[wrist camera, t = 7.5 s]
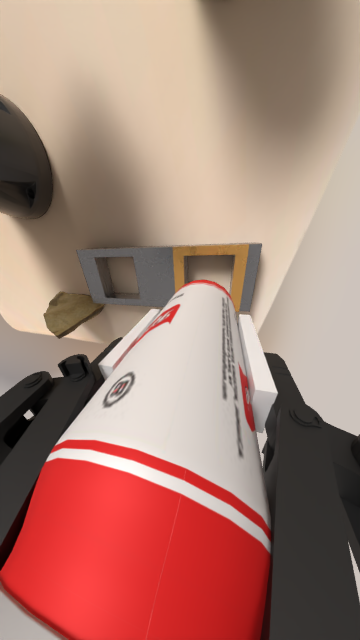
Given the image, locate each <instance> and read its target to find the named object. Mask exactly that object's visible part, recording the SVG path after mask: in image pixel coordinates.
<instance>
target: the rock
mask: <svg viewBox="0 0 360 640" xmlns="http://www.w3.org/2000/svg"><path fill="white" fill-rule="evenodd" d="M103 307H104V304H101V303H93V300H92V297H91V296H87V295H83V294H82V295H81V294H68V293H65V292H59V293H58V294H57V295H56V296H55V298H54V299H52V300H51V301H50V303H49V307H48V309H47V311H46V313H44V318H45V321H46V325H47V328H48V329H49V330H50V331H51V332H52V333H54V334H55V335H56V337H58V338H59V339H60V338H62V337H63V336H66V335H67V334H69V333H71V332H72V331H74V330H75V329H76V328H77V327H78V326H80V325H81V324H82V323H84V322H86V321H88V320H90V319H92V318H93V317H95V316H96V315H98V314H99V313H100V312H101V311H102V309H103Z"/></svg>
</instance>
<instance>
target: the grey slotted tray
mask: <svg viewBox="0 0 360 640" xmlns="http://www.w3.org/2000/svg"><path fill="white" fill-rule="evenodd" d="M261 248H262V244H261V243H234V244H206V245H178V246H150V247H122V248H94V249H81V250H76V251H77V254H78V257H79V260H80V263H81V266H82V269H83V272H84V275H85V278H86V282H87V285H88V288H89V291H90V294H91V297H92V300H93V303H101V304H120V305H138V306H157V307H165V306H166V304H167V303H168V302H169V301H170V299H171V298H172V297H173V296H174V294H175V293H176V292H177V291H178V290H179V289H180V288H181V287H182V286H183V285H185V284H187V283H188V261H187V256H193V255H234V256H233V265H232V274H231V283H230V292H229V294H230V295H231V298H232V301H233V303H234V306H235V311H236V312H239V311H250V306H251V301H252V296H253V290H254V285H255V280H256V274H257V269H258V264H259V258H260V253H261ZM106 257H133V259H134V265H135V270H136V276H137V282H138V288H139V293H140V294H127V293H114V289H113V285H112V281H111V277H110V273H109V269H108V265H107V261H106Z"/></svg>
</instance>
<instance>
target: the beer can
mask: <svg viewBox="0 0 360 640" xmlns="http://www.w3.org/2000/svg"><path fill="white" fill-rule="evenodd" d="M270 551H271V516H270V509H269V503H268V498H267V492H266V486H265V480H264V474H263V469H262V463H261V457H260V451H259V445H258V440H257V434H256V428H255V422H254V416H253V411H252V405H251V399H250V393H249V388H248V382H247V376H246V370H245V364H244V359H243V353H242V347H241V341H240V335H239V330H238V324H237V318H236V312H235V306H234V303H233V301H232V298H231V295H230V294H229V293H228V292H227V291H226V289H225V288H224V287H222V286H220V285H219V284H217V283H215V282H212V281H208V280H195V281H192V282H189V283H187V284H185V285H183V286H182V287H181V288H180V289H179V290H178V291H177V292H176V293H175V294H174V296H173V297H172V298H171V299H170V301H169V302H168V303H167V304H166V306H165V307H164V308H163V309H162V311H161V312H160V313H159V314H158V316H157V317H156V318H155V319H154V321H153V322H152V323H151V324H150V326H149V327H148V328H147V329H146V331H145V332H144V333H143V335H142V336H141V337H140V338H139V340H138V341H137V342H136V343H135V345H134V346H133V347H132V348H131V350H130V351H129V352H128V353H127V355H126V356H125V357H124V358H123V360H122V361H121V362H120V363H119V365H118V366H117V367H116V368H115V370H114V371H113V372H112V374H111V375H110V376H109V377H108V379H107V380H106V381H105V382H104V384H103V385H102V386H101V387H100V389H99V390H98V391H97V392H96V394H95V395H94V396H93V397H92V399H91V400H90V401H89V402H88V404H87V405H86V406H85V407H84V409H83V410H82V411H81V412H80V414H79V415H78V416H77V418H76V419H75V420H74V421H73V423H72V424H71V425H70V426H69V428H68V429H67V430H66V431H65V433H64V434H63V435H62V436H61V438H60V439H59V441H58V442H57V443H56V445H55V446H54V448H53V449H52V451H51V453H50V455H49V456H48V458H47V460H46V462H45V464H44V466H43V468H42V469H41V472H40V475H39V478H38V481H37V484H36V486H35V489H34V492H33V495H32V498H31V501H30V504H29V508H28V511H27V514H26V517H25V521H24V524H23V527H22V529H21V532H20V534H19V536H18V538H17V541H16V543H15V545H14V548H13V550H12V552H11V554H10V556H9V557H8V559H7V561H6V563H5V564H4V566H3V568H2V570H1V571H0V640H260V637H261V631H262V624H263V616H264V609H265V602H266V594H267V585H268V577H269V569H270Z"/></svg>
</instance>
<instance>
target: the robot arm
mask: <svg viewBox="0 0 360 640" xmlns="http://www.w3.org/2000/svg"><path fill="white" fill-rule="evenodd" d="M51 198H52V176H51V170H50V166H49V162H48V158H47V155H46V153H45V150H44V147H43V145H42V143H41V141H40V139H39V137H38V135H37V133H36V131H35V129H34V128H33V126H32V125H31V123H30V122H29V120H28V119H27V118H26V116H25V115H24V114H23V113H22V112H21V110H20V109H19V108H18V107H17V106H16V105H15V104H14V103H12V102H11V101H10V100H9V99H7V98H6V97H4V96H3V95H1V94H0V212H1V213H4V214H7V215H9V216H13V217H17V218H29V219H34V218H38V217H40V216H42V215H43V214H44V213H45V212H46V211H47V209H48V208H49V205H50V202H51ZM159 313H160V309H151V310H150V311H149V312H148V313H147V314H146V315H145V316H144V317H143V318H142V319H141V320H140V321H139V322H138V323H137V324H136V325H135V327H134V328H133V329H132V330H131V331H130V332H129V333H128V334H127V335H126V336H125V337H124V338H122V337H120V338H118V339H116V340H115V341H113V342H112V343H111V344H110V345H109V346H108V347H107V348H106V349H105V350H104V351H103V352H102V353H101V354H100V355H99V356H98V357H97V358H96V359H95V360H94V361H93V362H92V363H90V362H89V360H88V358H87V356H86V355H84V354H78V355H73V356H70V357H68V358H66V359H65V360H63V361H61V362H60V363H59V364H58V367H59V368H60V370H61V372H62V374H63V376H64V377H58V378H52V377H51V375H50V374H49V372H46V371H41V372H37V373H34V374H32V375H30V376H27V377H26V378H24V379H23V380H22V381H20V382H19V383H17V384H16V385H15V386H14V387H12V388H11V389H10V390H8V391H7V392H6V393H5V394H3V395H2V396H1V397H0V571H1V570H2V568H3V566H4V564H5V563H6V561H7V559H8V557H9V556H10V554H11V552H12V550H13V548H14V545H15V543H16V541H17V538H18V536H19V534H20V532H21V529H22V527H23V524H24V521H25V517H26V514H27V511H28V508H29V504H30V501H31V498H32V495H33V492H34V489H35V486H36V484H37V481H38V478H39V475H40V472H41V469H42V468H43V466H44V464H45V462H46V460H47V458H48V456H49V455H50V453H51V451H52V449H53V448H54V446H55V445H56V443H57V442H58V441H59V439H60V438H61V436H62V435H63V434H64V433H65V431H66V430H67V429H68V428H69V426H70V425H71V424H72V423H73V421H74V420H75V419H76V418H77V416H78V415H79V414H80V412H81V411H82V410H83V409H84V407H85V406H86V405H87V404H88V402H89V401H90V400H91V399H92V397H93V396H94V395H95V394H96V392H97V391H98V390H99V389H100V387H101V386H102V385H103V384H104V382H105V381H106V380H107V379H108V377H109V376H110V375H111V374H112V372H113V371H114V370H115V368H116V367H117V366H118V365H119V363H120V362H121V361H122V360H123V358H124V357H125V356H126V355H127V353H128V352H129V351H130V350H131V348H132V347H133V346H134V345H135V343H136V342H137V341H138V340H139V338H140V337H141V336H142V335H143V333H144V332H145V331H146V329H147V328H148V327H149V326H150V324H151V323H152V322H153V321H154V319H155V318H156V317H157V316H158V314H159ZM238 330H239V335H240V341H241V347H242V353H243V359H244V364H245V370H246V376H247V382H248V388H249V393H250V399H251V405H252V411H253V416H254V422H255V428H256V432H259V433H263V430H264V428H266V433H267V437H268V438H267V441H266V443H265V445H264V448H263V450H262V453H263V454H264V461H263V474H264V480H265V486H266V492H267V498H268V503H269V509H270V516H271V551H270V569H269V577H268V585H267V594H266V602H265V609H264V616H263V624H262V631H261V637H260V640H360V602H359V597H358V592H357V586H356V581H355V576H354V570H353V565H352V560H351V555H350V549H349V545H350V547H351V550H352V553H353V556H354V558H355V561H356V564H357V566H358V569H359V572H360V435H359V436H355V435H353V434H351V433H348V432H346V431H344V430H341V429H339V428H336V427H334V426H332V425H330V424H328V423H326V422H324V421H323V419H322V418H321V417H320V416H319V414H318V413H317V412H316V411H315V410H313V409H312V408H311V407H309V406H308V405H306V404H305V402H304V400H303V398H302V396H301V394H300V392H299V390H298V388H297V386H296V384H295V382H294V380H293V378H292V376H291V374H290V372H289V370H288V368H287V366H286V364H285V362H284V360H283V359H282V358H281V357H280V356H279V355H277V354H273V353H264V352H263V350H262V347H261V344H260V341H259V339H258V336H257V333H256V330H255V327H254V324H253V322H252V319H251V316H250V315H242V314H239V319H238ZM28 410H30V411H31V412H32V413H33V415H34V416H33V417H31V418H30V419H28V420H27V419H26V418H25V417H24V416H23V415H24V414H25V413H26V412H27V411H28ZM348 542H349V544H348Z"/></svg>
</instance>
